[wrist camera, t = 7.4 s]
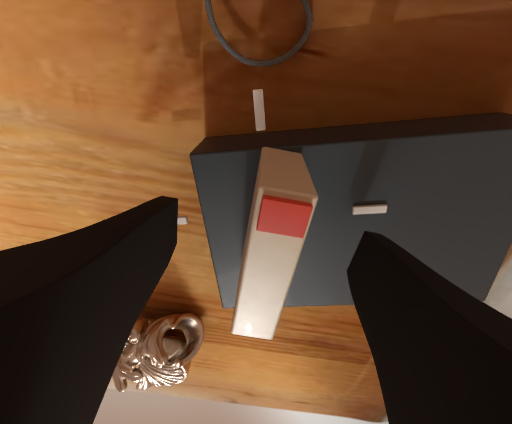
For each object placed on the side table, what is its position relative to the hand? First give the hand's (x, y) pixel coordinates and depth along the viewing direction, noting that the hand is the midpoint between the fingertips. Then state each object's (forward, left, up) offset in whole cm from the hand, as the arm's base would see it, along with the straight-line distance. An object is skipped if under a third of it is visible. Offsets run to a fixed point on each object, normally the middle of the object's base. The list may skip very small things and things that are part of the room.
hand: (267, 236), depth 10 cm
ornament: (-9, -12, -5) cm, 16 cm away
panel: (+3, 0, -5) cm, 6 cm away
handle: (0, 0, -2) cm, 2 cm away
